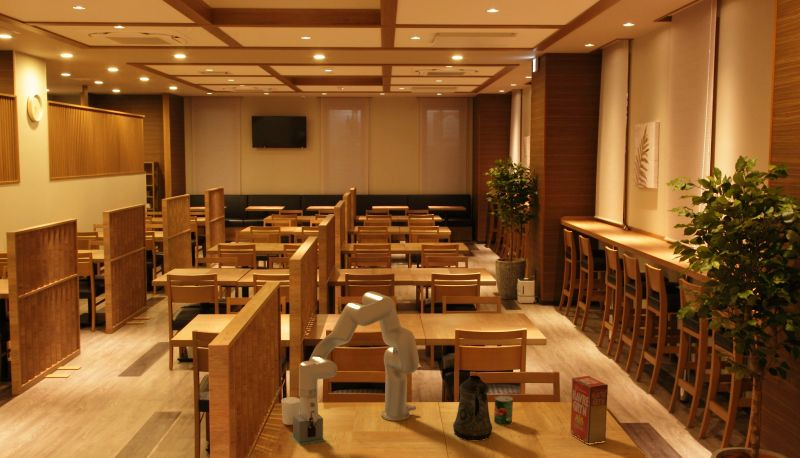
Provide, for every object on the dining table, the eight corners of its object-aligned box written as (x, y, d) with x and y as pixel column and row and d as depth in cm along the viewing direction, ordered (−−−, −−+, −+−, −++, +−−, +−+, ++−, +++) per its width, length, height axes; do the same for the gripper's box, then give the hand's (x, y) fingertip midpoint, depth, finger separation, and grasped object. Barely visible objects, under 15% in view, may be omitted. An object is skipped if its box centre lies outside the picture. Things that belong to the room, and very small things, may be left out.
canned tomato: (491, 423, 345) (492, 399, 343) (496, 418, 352) (497, 394, 350) (509, 426, 342) (510, 402, 340) (514, 420, 349) (514, 396, 348)
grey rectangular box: (316, 432, 330) (316, 411, 329) (322, 438, 323) (323, 418, 322) (293, 436, 325) (293, 415, 324) (299, 442, 319) (299, 421, 317)
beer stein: (470, 423, 345) (472, 368, 342) (505, 436, 331) (507, 378, 328) (444, 433, 333) (446, 375, 330) (480, 446, 319) (482, 387, 316)
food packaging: (568, 434, 334) (571, 377, 331) (586, 431, 338) (589, 374, 335) (587, 445, 322) (590, 386, 319) (606, 442, 326) (609, 384, 323)
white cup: (296, 426, 337) (296, 403, 336) (278, 424, 339) (278, 402, 337) (302, 420, 345) (302, 397, 344) (285, 418, 346) (285, 396, 345)
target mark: (315, 431, 332) (315, 431, 332) (325, 440, 322) (325, 440, 322) (290, 435, 327) (290, 435, 327) (299, 445, 317) (299, 444, 317)
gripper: (324, 397, 316) (324, 439, 318) (309, 384, 331) (309, 424, 333) (307, 399, 312) (306, 442, 315) (292, 386, 328) (292, 427, 330)
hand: (308, 432), depth 324 cm, fingers closed on grey rectangular box, 7 cm apart
